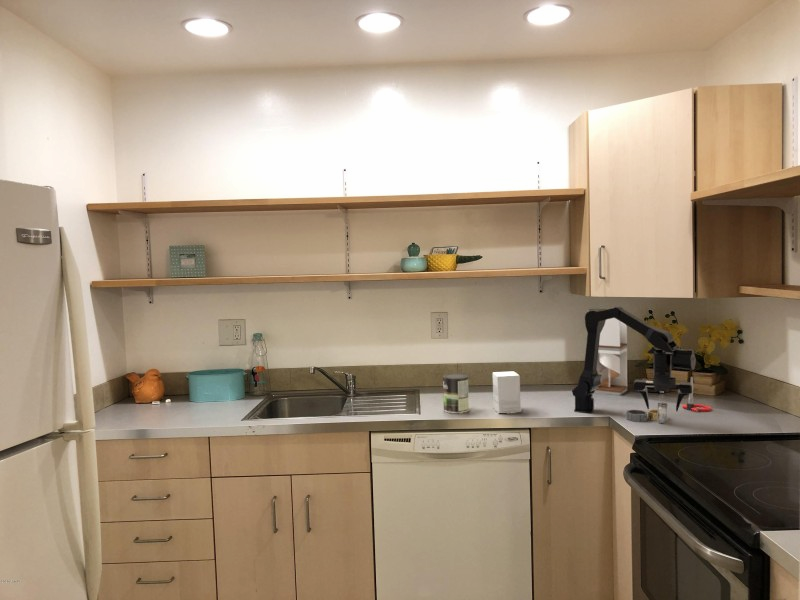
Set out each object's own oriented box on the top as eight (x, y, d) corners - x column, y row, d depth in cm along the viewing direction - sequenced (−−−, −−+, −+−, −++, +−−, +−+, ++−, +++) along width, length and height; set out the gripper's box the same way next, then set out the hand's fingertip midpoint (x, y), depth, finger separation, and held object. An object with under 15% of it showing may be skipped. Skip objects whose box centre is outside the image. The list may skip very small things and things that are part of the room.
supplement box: (515, 407, 233) (514, 370, 232) (521, 413, 224) (520, 375, 223) (492, 408, 232) (492, 371, 231) (498, 414, 223) (497, 376, 222)
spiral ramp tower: (593, 392, 254) (592, 313, 251) (601, 387, 262) (600, 311, 260) (620, 395, 247) (619, 314, 244) (627, 390, 255) (626, 311, 253)
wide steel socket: (625, 420, 209) (625, 413, 209) (627, 415, 215) (627, 409, 215) (646, 422, 206) (646, 415, 206) (647, 417, 212) (647, 410, 212)
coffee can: (445, 414, 226) (444, 378, 225) (441, 407, 236) (440, 373, 235) (471, 413, 226) (470, 377, 225) (466, 406, 237) (465, 372, 236)
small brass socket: (647, 419, 209) (647, 412, 209) (648, 415, 214) (648, 409, 214) (664, 421, 207) (664, 414, 207) (665, 417, 212) (665, 410, 212)
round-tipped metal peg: (657, 423, 204) (657, 404, 204) (658, 421, 207) (657, 402, 206) (667, 424, 203) (667, 404, 202) (667, 422, 206) (667, 402, 205)
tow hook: (698, 406, 227) (680, 407, 224) (700, 374, 226) (681, 375, 223) (716, 411, 219) (697, 413, 216) (718, 378, 218) (699, 379, 215)
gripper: (632, 369, 200) (632, 413, 201) (692, 372, 192) (692, 418, 193) (634, 363, 210) (634, 405, 211) (691, 366, 202) (691, 410, 203)
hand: (662, 410), depth 205 cm, fingers open, 9 cm apart
